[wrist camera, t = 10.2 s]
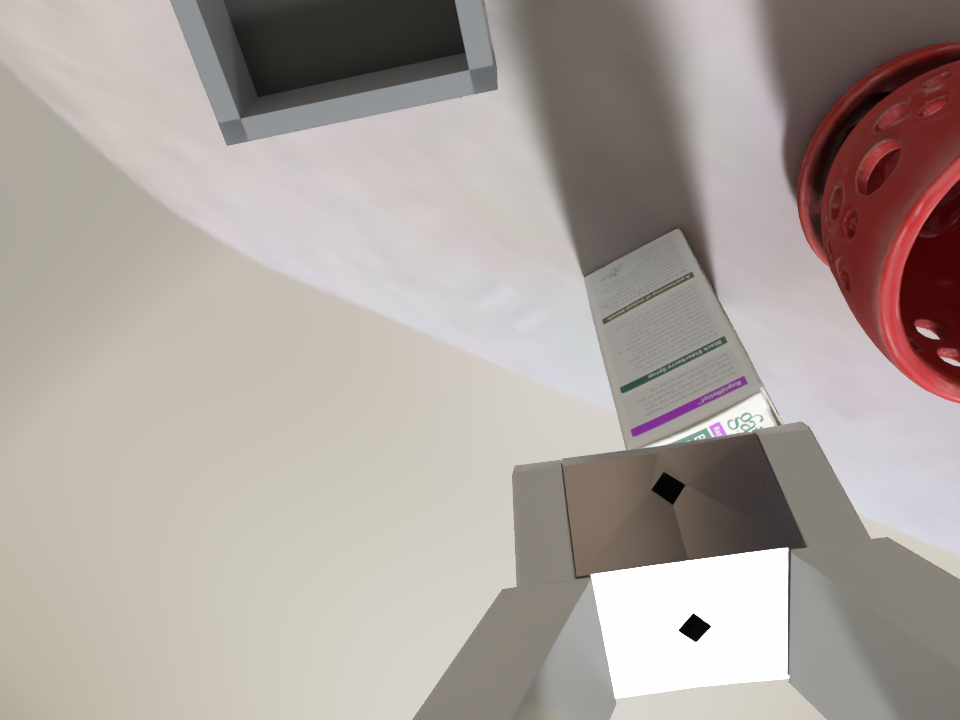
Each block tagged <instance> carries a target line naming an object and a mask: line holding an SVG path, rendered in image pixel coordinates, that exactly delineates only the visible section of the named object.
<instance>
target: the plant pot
mask: <svg viewBox="0 0 960 720" xmlns="http://www.w3.org/2000/svg"><path fill="white" fill-rule="evenodd" d="M797 204H798V212H799V218H800V222H801V226H802V229H803V232H804V235H805V237H806V239H807V241H808V243H809V245H810V247H811V248H812V250H813V251H814V252H815V254H816V255H817V256H818V257H819V258H820V259H821V260H822V261H823V262H824V263H825V264H826V265H827V266H829V267H830V269H831V272H832V273H833V275H834V277H835V279H836V281H837V284H838V286H839V288H840V290H841V292H842V294H843V296H844V298H845V300H846V302H847V304H848V306H849V308H850V310H851V311H852V313H853V315H854V316H855V318H856V319H857V321H858V323H859V324H860V325H861V327H862V328H863V330H864V331H865V333H866V334H867V335H868V337H869V338H870V339H871V340H872V342H873V343H874V344H875V345H876V347H877V348H878V349H879V350H880V351H881V352H882V353H883V354H884V356H885V357H886V358H887V359H888V360H889V361H890V362H891V363H892V364H893V365H894V366H895V367H897V368H898V369H899V370H900V371H901V372H902V373H903V374H904V375H905V376H907V377H908V378H909V379H910V380H912V381H913V382H914V383H916V384H917V385H918V386H920V387H922V388H923V389H925V390H927V391H929V392H931V393H933V394H935V395H937V396H939V397H942V398H944V399H946V400H949V401H952V402H956V403H960V367H959V366H954V365H951V364H949V363H947V362H945V361H943V360H942V359H941V358H940V357H945V358H949V359H953V360H956V361H958V362H959V363H960V42H951V43H943V44H937V45H931V46H927V47H923V48H920V49H917V50H913V51H911V52H908V53H905V54H903V55H901V56H899V57H897V58H894V59H892V60H890V61H889V62H887V63H885V64H883V65H882V66H880V67H878V68H876V69H875V70H874V71H872V72H871V73H870V74H868V75H866V76H865V77H863V78H862V79H861V80H860V81H858V82H857V83H856V84H855V85H854V86H853V87H852V88H850V89H849V90H848V91H847V92H846V93H845V94H844V95H843V96H842V97H841V98H840V99H839V100H838V102H837V103H836V104H835V105H834V106H833V107H832V108H831V110H830V111H829V112H828V114H827V115H826V116H825V118H824V119H823V121H822V122H821V124H820V125H819V127H818V129H817V130H816V132H815V134H814V136H813V137H812V139H811V141H810V144H809V146H808V148H807V150H806V153H805V156H804V159H803V162H802V165H801V169H800V174H799V180H798V191H797ZM916 327H921V328H925V329H927V330H930V331H932V332H933V333H935V334H936V335H937V336H938V337H939V339H940V340H937V339H931V338H928V337H925V336H923V335H922V334H921V333H919V332H918V331H917V329H916Z"/></svg>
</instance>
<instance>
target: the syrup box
mask: <svg viewBox="0 0 960 720" xmlns="http://www.w3.org/2000/svg"><path fill="white" fill-rule="evenodd" d="M584 282H585V286H586V290H587V295H588V299H589V305H590V309H591V313H592V317H593V322H594V325H595V330H596V334H597V338H598V342H599V345H600V349H601V353H602V357H603V361H604V365H605V369H606V373H607V376H608V381H609V384H610V387H611V392H612V396H613V400H614V403H615V407H616V410H617V414H618V419H619V423H620V427H621V431H622V435H623V439H624V444H625V447H626V450H633V449H641V448H648V447H656V446H662V445H668V444H674V443H680V442H687V441H693V440H699V439H705V438H712V437H718V436H724V435H730V434H737V433H743V432H752V430H756V429H762V428H768V427H773V426H779V425H784V424H783V422H782V420H781V418H780V416H779V414H778V412H777V410H776V408H775V406H774V404H773V402H772V400H771V398H770V397H769V395H768V393H767V391H766V389H765V387H764V385H763V383H762V381H761V380H760V378H759V376H758V374H757V372H756V370H755V368H754V366H753V364H752V362H751V360H750V358H749V356H748V354H747V352H746V350H745V348H744V346H743V345H742V343H741V341H740V339H739V337H738V335H737V333H736V331H735V329H734V328H733V326H732V324H731V322H730V320H729V318H728V316H727V315H726V313H725V311H724V309H723V307H722V305H721V303H720V301H719V299H718V297H717V296H716V294H715V292H714V290H713V288H712V286H711V284H710V282H709V281H708V279H707V277H706V275H705V273H704V271H703V270H702V268H701V266H700V264H699V262H698V260H697V258H696V256H695V255H694V253H693V251H692V249H691V247H690V245H689V244H688V242H687V240H686V238H685V236H684V234H683V232H682V231H681V230H680V229H676V230H673V231H671V232H669V233H667V234H665V235H663V236H661V237H659V238H657V239H655V240H653V241H651V242H649V243H647V244H645V245H643V246H641V247H640V248H638V249H636V250H634V251H632V252H630V253H628V254H627V255H625V256H623V257H621V258H619V259H617V260H615V261H613V262H611V263H610V264H608V265H606V266H604V267H602V268H600V269H598V270H596V271H595V272H593V273H591V274H589V275H587V276H585V278H584Z"/></svg>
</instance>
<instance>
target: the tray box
mask: <svg viewBox="0 0 960 720" xmlns="http://www.w3.org/2000/svg"><path fill="white" fill-rule="evenodd" d="M170 1H171V4H172V6H173V9H174V12H175V14H176V17H177V19H178V22H179V24H180V27H181V29H182V32H183V35H184V37H185V40H186V42H187V45H188V47H189V50H190V52H191V55H192V58H193V60H194V63H195V65H196V68H197V70H198V73H199V75H200V78H201V80H202V83H203V86H204V88H205V91H206V93H207V96H208V98H209V101H210V103H211V106H212V109H213V111H214V114H215V116H216V119H217V121H218V124H219V126H220V129H221V131H222V134H223V137H224V139H225V142H226V144H227V146H228V145H233V144H238V143H243V142H247V141H252V140H257V139H262V138H267V137H271V136H276V135H281V134H286V133H291V132H295V131H300V130H305V129H310V128H315V127H319V126H324V125H329V124H334V123H338V122H343V121H348V120H353V119H358V118H362V117H367V116H372V115H377V114H382V113H386V112H391V111H396V110H401V109H406V108H410V107H415V106H420V105H425V104H430V103H434V102H439V101H444V100H449V99H454V98H458V97H463V96H468V95H473V94H478V93H482V92H487V91H492V90H497V89H498V85H497V67H496V62H495V56H494V51H493V46H492V40H491V35H490V30H489V25H488V19H487V14H486V9H485V3H484V0H170Z"/></svg>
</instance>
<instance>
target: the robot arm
mask: <svg viewBox="0 0 960 720" xmlns="http://www.w3.org/2000/svg"><path fill="white" fill-rule="evenodd" d="M512 483H513V507H514V529H515V554H516V577H517V587H514V588H508V589H502V591H501V592H500V594H499V595H498V597H497V598H496V599H495V601H494V602H493V604H492V605H491V607H490V608H489V609H488V611H487V612H486V614H485V615H484V617H483V618H482V620H481V621H480V622H479V624H478V625H477V627H476V628H475V630H474V631H473V633H472V634H471V636H470V637H469V638H468V640H467V641H466V643H465V644H464V646H463V647H462V649H461V650H460V652H459V653H458V654H457V656H456V657H455V659H454V660H453V662H452V663H451V665H450V666H449V668H448V669H447V670H446V672H445V673H444V675H443V676H442V678H441V679H440V681H439V682H438V683H437V685H436V686H435V688H434V689H433V691H432V692H431V694H430V695H429V697H428V698H427V699H426V701H425V703H424V704H423V705H422V707H421V708H420V709H419V711H418V712H417V714H416V715H415V717H414V718H413V720H610V718H611V715H612V713H613V710H614V708H615V706H616V699H615V698H620V697H627V696H635V695H642V694H648V693H654V692H662V691H668V690H676V689H682V688H690V687H696V686H706V685H717V684H727V683H739V682H750V681H761V680H772V679H784V678H789V683H790V684H791V685H792V686H793V687H794V688H795V689H796V690H797V691H798V692H799V693H800V694H801V695H802V696H803V697H804V698H805V699H806V700H807V701H809V702H810V703H811V704H812V705H813V706H814V707H815V708H816V709H817V710H818V711H819V712H820V713H821V714H822V715H823V716H824V717H825V718H826V719H827V720H960V579H958V578H956V577H954V576H953V575H951V574H949V573H947V572H946V571H944V570H942V569H941V568H939V567H937V566H936V565H934V564H932V563H931V562H929V561H927V560H925V559H924V558H922V557H920V556H919V555H917V554H915V553H914V552H912V551H910V550H909V549H907V548H905V547H903V546H902V545H900V544H898V543H897V542H895V541H893V540H892V539H890V538H888V537H885V538H877V539H871V538H870V536H869V535H868V533H867V531H866V529H865V527H864V526H863V524H862V522H861V520H860V518H859V516H858V515H857V513H856V511H855V509H854V507H853V505H852V504H851V502H850V500H849V498H848V496H847V495H846V493H845V491H844V489H843V487H842V485H841V484H840V482H839V480H838V478H837V476H836V474H835V473H834V471H833V469H832V467H831V465H830V464H829V462H828V460H827V458H826V456H825V454H824V453H823V451H822V449H821V447H820V445H819V444H818V442H817V440H816V438H815V436H814V434H813V433H812V431H811V429H810V427H809V426H807V425H806V424H804V423H803V422H797V423H791V424H785V425H779V426H773V427H768V428H762V429H756V430H752V432H743V433H737V434H730V435H724V436H718V437H712V438H705V439H699V440H693V441H687V442H680V443H674V444H668V445H662V446H656V447H648V448H641V449H633V450H626V451H618V452H610V453H602V454H595V455H587V456H579V457H572V458H564V459H562V461H561V460H556V461H549V462H540V463H533V464H525V465H517V466H515V467H514V471H513V475H512Z"/></svg>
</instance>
